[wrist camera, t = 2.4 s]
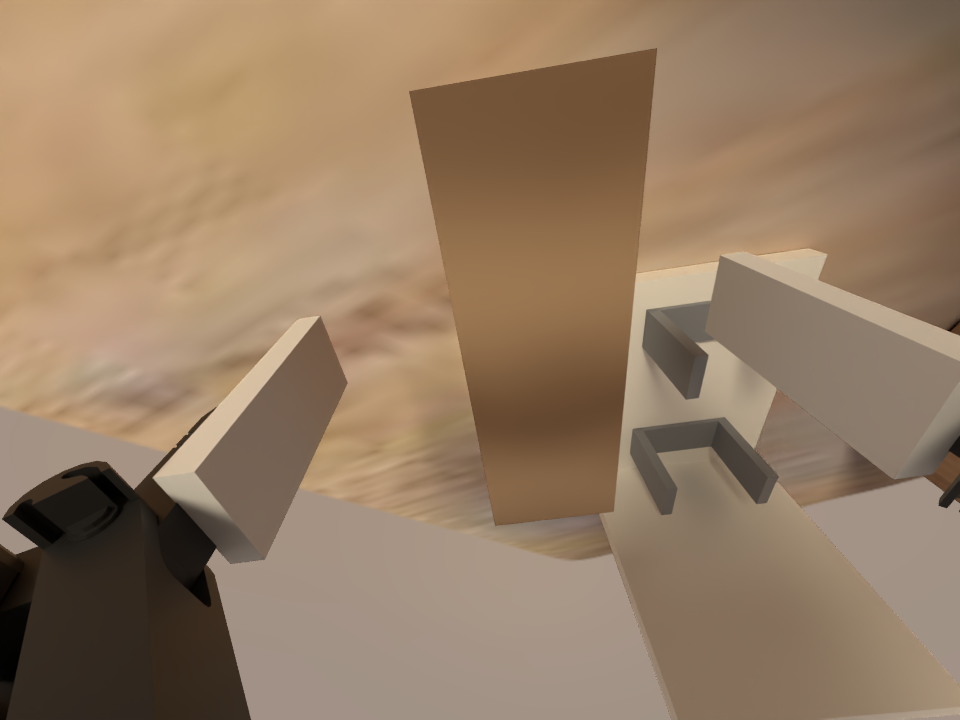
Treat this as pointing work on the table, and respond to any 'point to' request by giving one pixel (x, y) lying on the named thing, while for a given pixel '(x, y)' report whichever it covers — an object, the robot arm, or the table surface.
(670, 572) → the l-bracket with handles
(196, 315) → the table surface
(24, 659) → the robot arm
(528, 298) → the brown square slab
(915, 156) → the table surface
